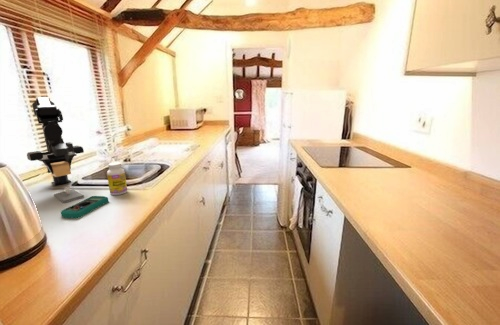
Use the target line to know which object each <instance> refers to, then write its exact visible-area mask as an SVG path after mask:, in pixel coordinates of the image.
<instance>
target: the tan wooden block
mask: <svg viewBox="0 0 500 325" xmlns="http://www.w3.org/2000/svg"><path fill="white" fill-rule="evenodd" d="M51 166H52V169H53V174H52V173H50V174H51V176H52V175H53V176H55V177H59V176H63V175H67V176H68V175H72V173H71V172H72V171H71V169H70V166H69V163H68V162H65V161H62V162H56V163H51ZM53 176H52V177H53Z"/></svg>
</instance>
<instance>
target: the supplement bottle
mask: <svg viewBox="0 0 500 325" xmlns="http://www.w3.org/2000/svg"><path fill="white" fill-rule="evenodd" d="M106 177H107V182H108V188H109V193H110V195H112V196H121V195H124V194H126V193H127V192H128V186H127V178H126V172H125V169H124V168H122V163H121V162H118V161H117V162H116V161H115V162H110V163H108V170H107V171H106Z"/></svg>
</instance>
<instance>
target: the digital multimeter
mask: <svg viewBox="0 0 500 325" xmlns="http://www.w3.org/2000/svg"><path fill="white" fill-rule="evenodd" d="M109 202H110V201H109V197H107V196H103V195H91V196H89V197H88V198H85V199H84V200H82V201H79V202H77V203H75V204H72V205H71V206H68V207H67V208H64V209H63V210H61V211H60V215H61V217H62V218H65V219H80V218H82V217H83V216H85V215H87V214H89V213H91V212H92V211H95V210H96V209H98V208H100V207H101V206H104V205H105V204H106V205H107V204H108V203H109Z"/></svg>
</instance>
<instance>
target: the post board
mask: <svg viewBox="0 0 500 325" xmlns="http://www.w3.org/2000/svg"><path fill="white" fill-rule="evenodd" d="M64 190H65V191H60V192H56V193H53V196H54V197H55V198H56V199H58V200H59V201H60V202H62V203H63V204H64V203H68V202H73V201H75V200H79V199H82V198H84V197H85V196H84V194H83V193H82V192H81V193H80V192H79V191H77V190H75V189H73V188H72V189H70V186H66V187H64Z"/></svg>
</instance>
